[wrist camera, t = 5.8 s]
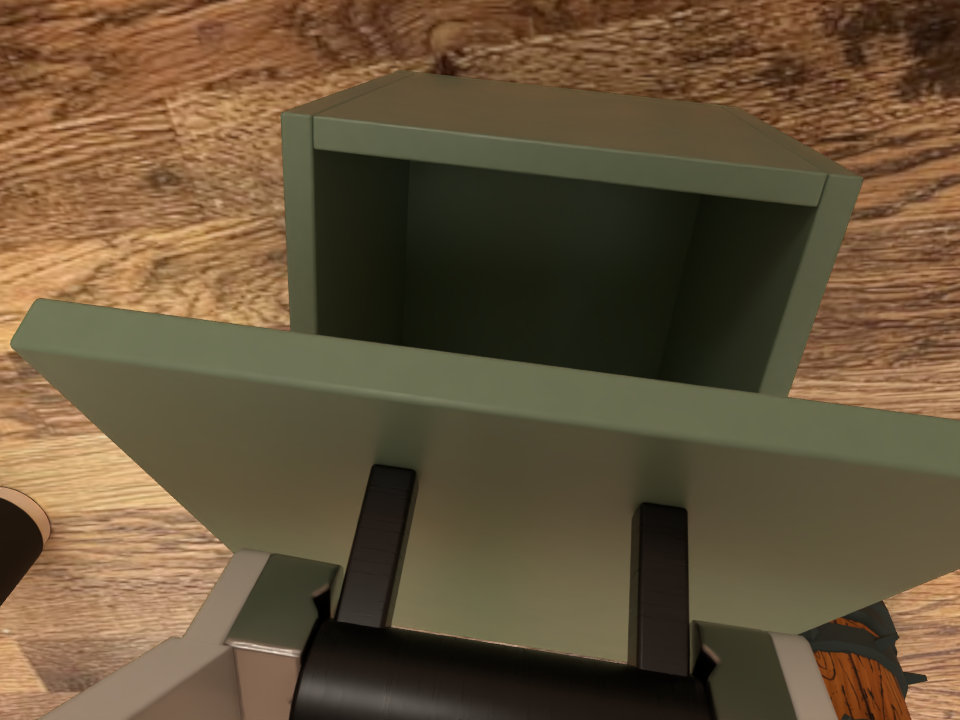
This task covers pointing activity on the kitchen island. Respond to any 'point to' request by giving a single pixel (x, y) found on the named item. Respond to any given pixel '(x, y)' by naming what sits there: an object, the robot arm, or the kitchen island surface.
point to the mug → (862, 665)
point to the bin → (560, 228)
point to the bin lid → (511, 506)
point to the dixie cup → (19, 537)
